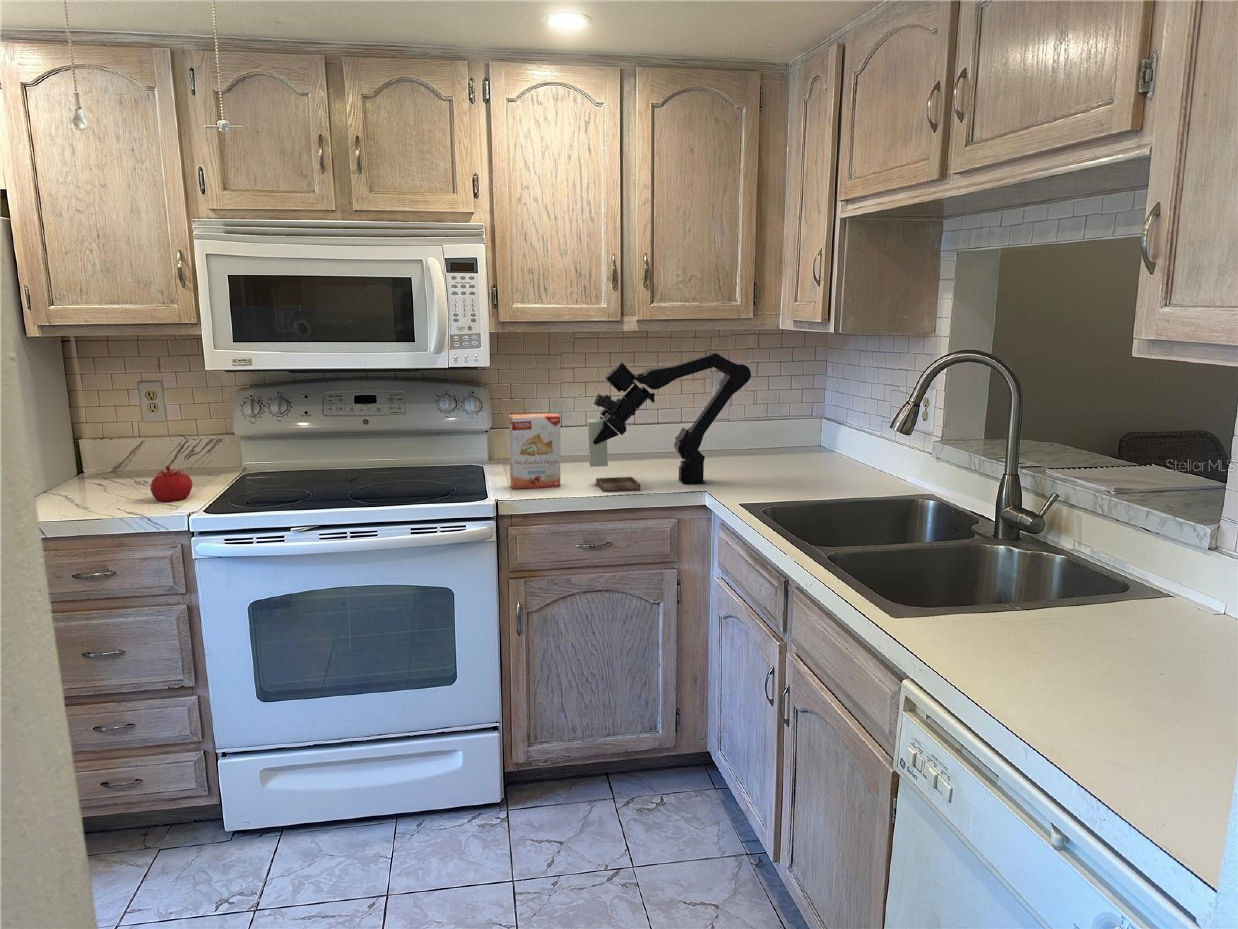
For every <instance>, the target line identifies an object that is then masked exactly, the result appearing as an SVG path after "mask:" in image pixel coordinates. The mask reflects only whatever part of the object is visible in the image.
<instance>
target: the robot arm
mask: <svg viewBox="0 0 1238 929" xmlns="http://www.w3.org/2000/svg"><path fill="white" fill-rule="evenodd" d="M712 368H714V369H715V370H717V371H719V372H721V373H722V374H723V377H722V379H721V381H720V385H719V387H718V388H717V390H716V392H714V394H713V396H712V397H711V398H710V400H709V401H708V402H707V404H706V406H705V407H704V408H703V410H702V411H701V412H700V414H699V415H698V417H697V418H696V419H695V421H694V422H693V424H692V425H691V426H690V427H688V429H687V428H685V427H682V428H681V430H680V431H679V434H678V435H677V436H675V437H674V439H675V441H674V444H673V446H674V450H675V452H676V453H677V454H679V456H680V458H681V460H680V465H678V481H679V482H681V483H682V484H684V485H695V484H697V485H698V484H706V481H705V479H704V474H705V473H704V464H705V459H706V456H704V455H703V453H702V452H701V451H700V450H699V449H700V447H701V446H702V442H703V439H704V436H705V433H706V432H707V430H708V429H710V427H711V425H712V423H713V422H714V421H715V420H716V419H717V417H718V415H719V414H720V413H721V411H722V410H723V408H724V407H725V406H726V404H727V403H728V402H729V400H730V398H731V397H732V396H733V395H734V394H736V393H737V392H738V391H740V390H742V388H743V387H744V386H745V385H746V384H747V383H748V382H749V381H750V379H751V377H752V372H751V370H750V368H749V367H748V365H745V364H743V363H738V362H732V361H731V360H729V359H727V358H725V357H724V356H721V354H719V353H717V352H710V353H708V354H706V355H703V356H698V357H696V358H693V359H690V360H687V361H683V362H680V363H676V364H674V365H669V366H658V367H651V368H647V369H646V370H644V372H642V373H636V374H635V373H633V372H632V371H631V370H630V369H628V367H627V366H626V365H625V364H624V363H623V362H620V363H619V364H618V365H616V367H614V368H612V369H611V370H610V371H609V372H608V374H607V375H606V376H605V378H604V380H606V381H607V382H608V383H609V384H610V385H611V386H612V387H613V388H614V389H615V390H616V391H617V392H618V393H620V392H621V391H622V392H623V393H625V392H626V393H625V394H624V395H623V396H622V397H619V398H617V399H616V400H614V399H612V396H611V395H608V394H604V395H603V394H600V393H597V395H596V397H595V398H594V401H593V404H594V405H595V406H596V407H599V408H600V407H601V408H603V409H602V410H601V411H600V412H599V413H600V416H599V419H605V420H606V421H607V422H606V421H604V420H603V428H602V429H601V431H600V432H599V433H598V435H597V436H596V438H595V439H594V441H593V443H594V444H595V445H596V444H599V443H601V442H603V441H605V440H607V441H608V440H609V439H612V438H614V437H617V436H619V435H620V436H623V435H624V434H625V433H626V432H627V426H626V424H627V423H626V422H628V421H629V419H630V418H631V417H632V416H633V417H634V416H635V415H636V412H637V411H638V410H639V409H640V408H641V407H642V406H643V405H644V404H645V402H647V401H648V400H649V401H650V402H651V403H652V404H653V403H655V401H656V400H655V396H656V393H655V392H650V391H649V390H648V389H651V390H656V391H657V390H659V389H662V388H664V387H666V386H668V385H669V384H671V383H672V382H674V381H675V380H678V379H680V378H683V377H686V376H689V375H692V374H696V373H698V372H704V371H707V370H709V369H712ZM636 382H637V383H638V384H641V385H644V386H641V387H640V386H639V385H638V384H637V383H636ZM631 386H632V387H631ZM646 387H647V388H648V389H647V388H646Z"/></svg>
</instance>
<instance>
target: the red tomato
mask: <svg viewBox="0 0 1238 929" xmlns="http://www.w3.org/2000/svg"><path fill="white" fill-rule="evenodd" d="M165 469H166V471H164V470H162V471H160V472H157V473H156V476H155V477H153V479H152V480H151V482H150V492H151V495H152V497H153V498H154V499H155V500H157V501H159V502H163V503H166V502H175V501H180V500H185V499H186V498H188V497H190V494H191V492H192V488H193V483H194V482H193V480H192V479H191V476H189V475H188V474H185V471H184V470H181V469H180V470H177V471H176V470H175V469H172V470H171V465H165Z"/></svg>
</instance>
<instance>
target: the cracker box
mask: <svg viewBox="0 0 1238 929" xmlns="http://www.w3.org/2000/svg"><path fill="white" fill-rule="evenodd" d="M508 417H509V418H508V420H509V475H510V476H509V478H510V482H509V483H510V486H511V488H512V489H513V490H515V489H516V490H521V489H538V488H556V487H557V488H558V487H560V488H561V416H560V415H559V414H557V413H534V414H533V413H531V414H529V413H528V414H509V416H508Z"/></svg>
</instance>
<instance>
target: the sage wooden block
mask: <svg viewBox="0 0 1238 929" xmlns="http://www.w3.org/2000/svg"><path fill="white" fill-rule="evenodd" d="M603 420H604V421H606V420H605V419H600V418H597V419H596V418H593V419H587V429H588V431H587V432H588V438H587V439H588V463H589V467H591V468H592V467H595V468H596V467H608V465H609V464H608V440H605V441H603V442H601V443H599V444H596V445H595V444H594V443H593V441H594V439H595V438H596V436H597V435H598V433H599V432H600V431H601V429H602V428H603ZM606 422H607V421H606Z"/></svg>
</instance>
